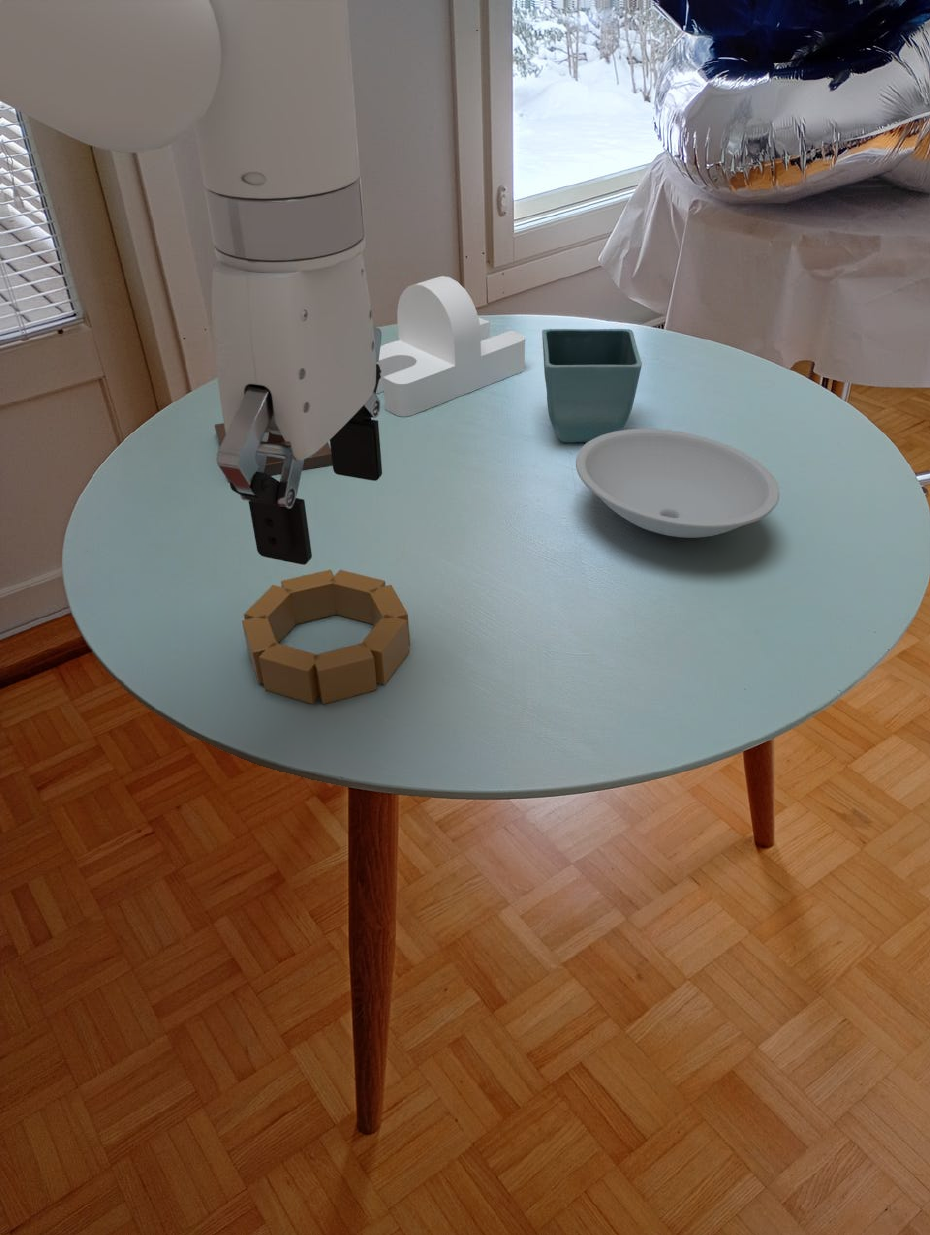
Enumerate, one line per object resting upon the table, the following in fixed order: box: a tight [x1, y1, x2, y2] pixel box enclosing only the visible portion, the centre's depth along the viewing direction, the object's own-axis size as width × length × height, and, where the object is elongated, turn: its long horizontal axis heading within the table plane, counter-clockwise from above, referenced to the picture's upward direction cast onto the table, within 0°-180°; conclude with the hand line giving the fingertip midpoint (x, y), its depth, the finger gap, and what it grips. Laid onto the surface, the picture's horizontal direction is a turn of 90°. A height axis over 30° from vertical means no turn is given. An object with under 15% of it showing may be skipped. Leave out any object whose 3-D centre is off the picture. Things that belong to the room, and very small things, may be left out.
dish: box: [575, 428, 780, 539], centre depth 83 cm, size 18×14×5 cm
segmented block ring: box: [241, 569, 411, 705], centre depth 71 cm, size 11×11×3 cm
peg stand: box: [214, 422, 333, 483], centre depth 94 cm, size 10×10×6 cm
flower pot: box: [541, 328, 643, 443], centre depth 95 cm, size 9×9×9 cm
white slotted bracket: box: [376, 275, 526, 418], centre depth 105 cm, size 10×18×11 cm, turn 131°
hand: (323, 514), depth 59 cm, fingers open, 9 cm apart
